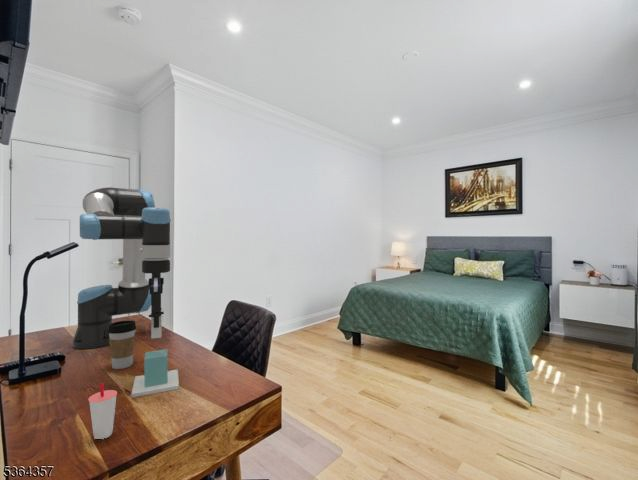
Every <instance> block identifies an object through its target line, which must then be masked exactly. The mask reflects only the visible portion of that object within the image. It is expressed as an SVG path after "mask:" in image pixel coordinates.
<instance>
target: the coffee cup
mask: <svg viewBox="0 0 638 480" xmlns="http://www.w3.org/2000/svg"><path fill="white" fill-rule="evenodd" d="M136 330H137V325H136V321H135V320H122V321H121V320H120V321H115V322H112V323H111V324H110V325H109V329H108V333H109V352H110V358H111V367H112V369H113V370H122V369H127V368H129V367H131V366H132V365H133V363H134V362H133V361H134V359H133V358H134V349H135V340H136Z"/></svg>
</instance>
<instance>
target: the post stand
mask: <svg viewBox="0 0 638 480" xmlns="http://www.w3.org/2000/svg"><path fill="white" fill-rule="evenodd" d="M178 370H179V369H178V368H177V369H172V370H168V383H165V384H160V385H155V386H149V387H144V374H142V375H136V376H135V377H134V382H133V385H132V389H131V390H132V391H131V399H133V398H137V397H144V396H148V395H153V394H158V393H163V392H164V393H165V392H169V391H175V390H178V389H180V385H179V382H180V381H179V371H178Z"/></svg>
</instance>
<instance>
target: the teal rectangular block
mask: <svg viewBox="0 0 638 480" xmlns="http://www.w3.org/2000/svg"><path fill="white" fill-rule="evenodd" d="M144 353H145V354H144V360H143V362H144V367H143V368H144V371H143V372H144V374H143V375H144V387H149V386H155V385H160V384H165V383H168V371H169V370H168V348H165V349H159V350H153V351H146V352H144Z"/></svg>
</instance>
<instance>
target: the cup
mask: <svg viewBox="0 0 638 480" xmlns="http://www.w3.org/2000/svg"><path fill="white" fill-rule="evenodd" d="M117 395H118V391H117V390H115V389H114V390H113V389H107V390H105V389H104V382H101V383H100V384H99V391H98V392H96V393H94V394H92V395H91V396H89V397H88V399H87V400H88V403H89V411H90V418H91V419H90V420H91V427H92V433H93V439H94V440H95V439H102V440H105V439H107V438H109V437H110V436H112V435H113V429H114V423H115V413H116V412H115V411H116V405H117V404H116V402H117ZM104 438H105V439H104Z"/></svg>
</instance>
